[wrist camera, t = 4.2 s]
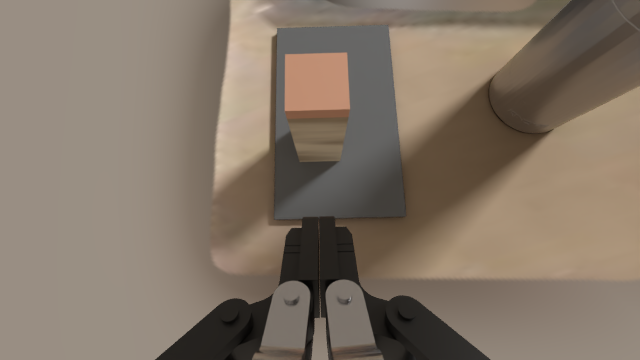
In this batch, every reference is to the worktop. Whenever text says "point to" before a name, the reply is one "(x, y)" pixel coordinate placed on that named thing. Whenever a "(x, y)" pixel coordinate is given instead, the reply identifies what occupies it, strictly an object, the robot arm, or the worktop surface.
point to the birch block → (317, 104)
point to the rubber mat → (360, 138)
